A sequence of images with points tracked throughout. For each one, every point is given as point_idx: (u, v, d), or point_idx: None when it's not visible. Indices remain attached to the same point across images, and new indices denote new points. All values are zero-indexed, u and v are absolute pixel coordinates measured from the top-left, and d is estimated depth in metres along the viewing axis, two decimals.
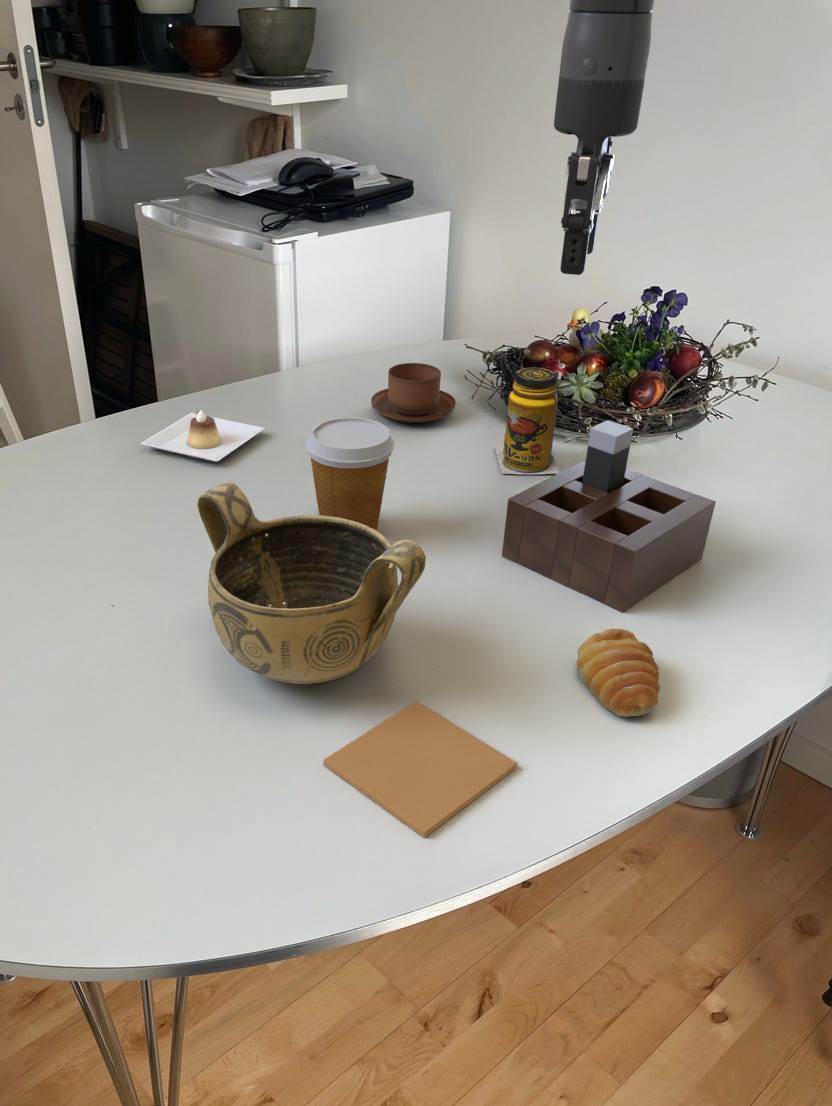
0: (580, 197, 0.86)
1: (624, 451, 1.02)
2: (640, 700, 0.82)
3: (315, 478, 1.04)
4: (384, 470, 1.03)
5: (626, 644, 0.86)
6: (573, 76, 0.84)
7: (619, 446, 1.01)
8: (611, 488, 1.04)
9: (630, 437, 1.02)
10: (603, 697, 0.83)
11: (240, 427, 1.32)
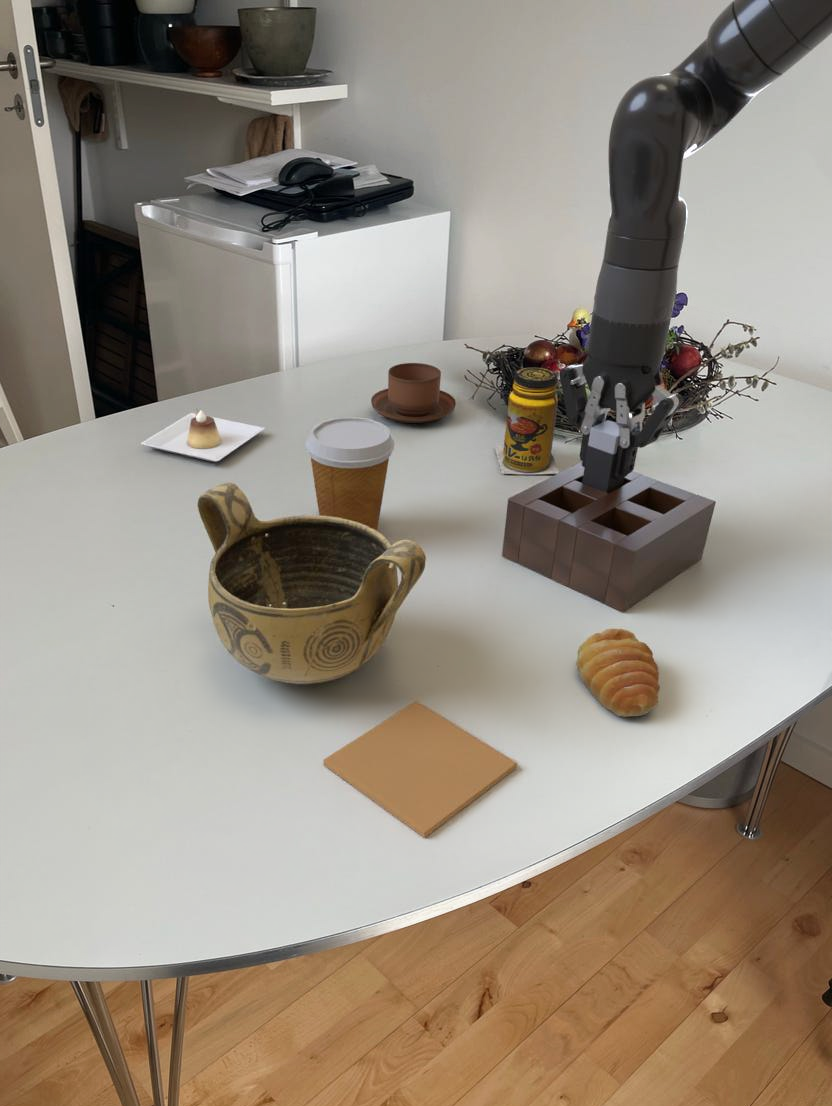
0: (662, 426, 0.98)
1: None
2: (640, 700, 0.82)
3: (315, 478, 1.04)
4: (384, 470, 1.03)
5: (626, 644, 0.86)
6: (647, 322, 0.92)
7: None
8: (611, 488, 1.04)
9: None
10: (603, 697, 0.83)
11: (240, 427, 1.32)
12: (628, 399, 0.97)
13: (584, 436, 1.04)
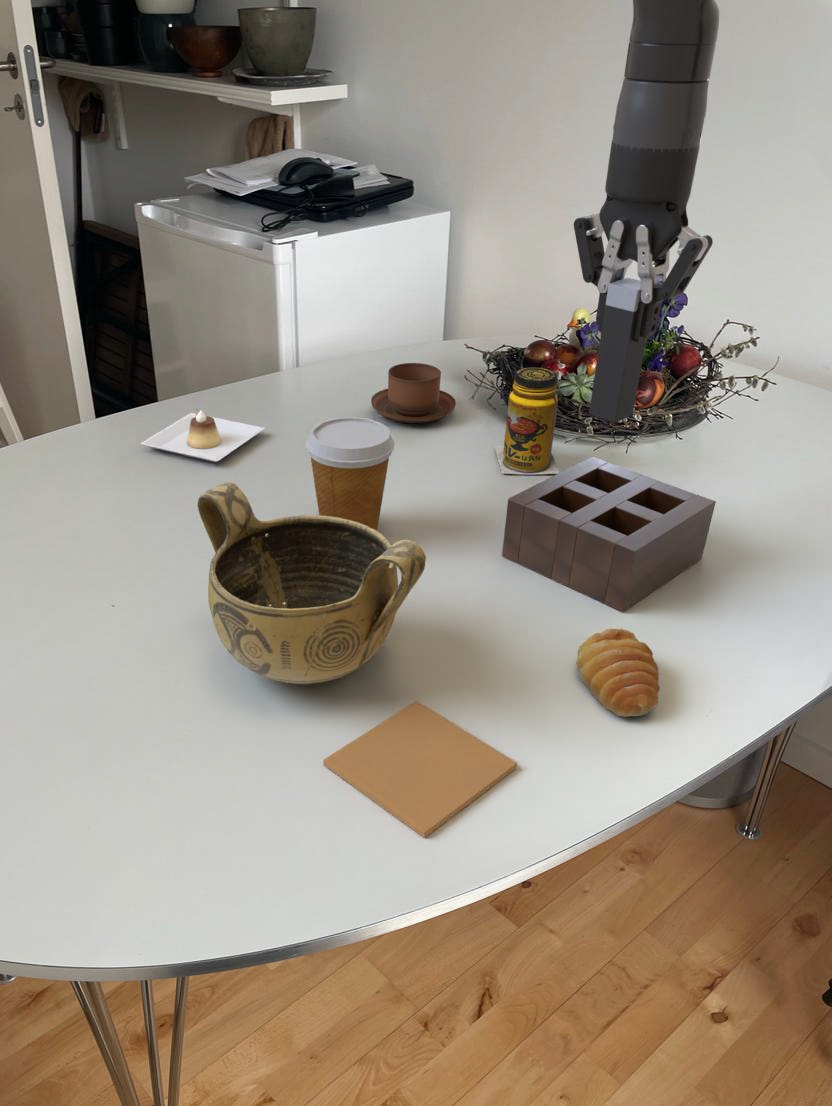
0: (688, 275, 0.87)
1: None
2: (640, 700, 0.82)
3: (315, 478, 1.04)
4: (384, 470, 1.03)
5: (626, 644, 0.86)
6: (673, 146, 0.82)
7: None
8: (631, 353, 0.94)
9: None
10: (603, 697, 0.83)
11: (240, 427, 1.32)
12: (651, 244, 0.87)
13: (601, 296, 0.94)
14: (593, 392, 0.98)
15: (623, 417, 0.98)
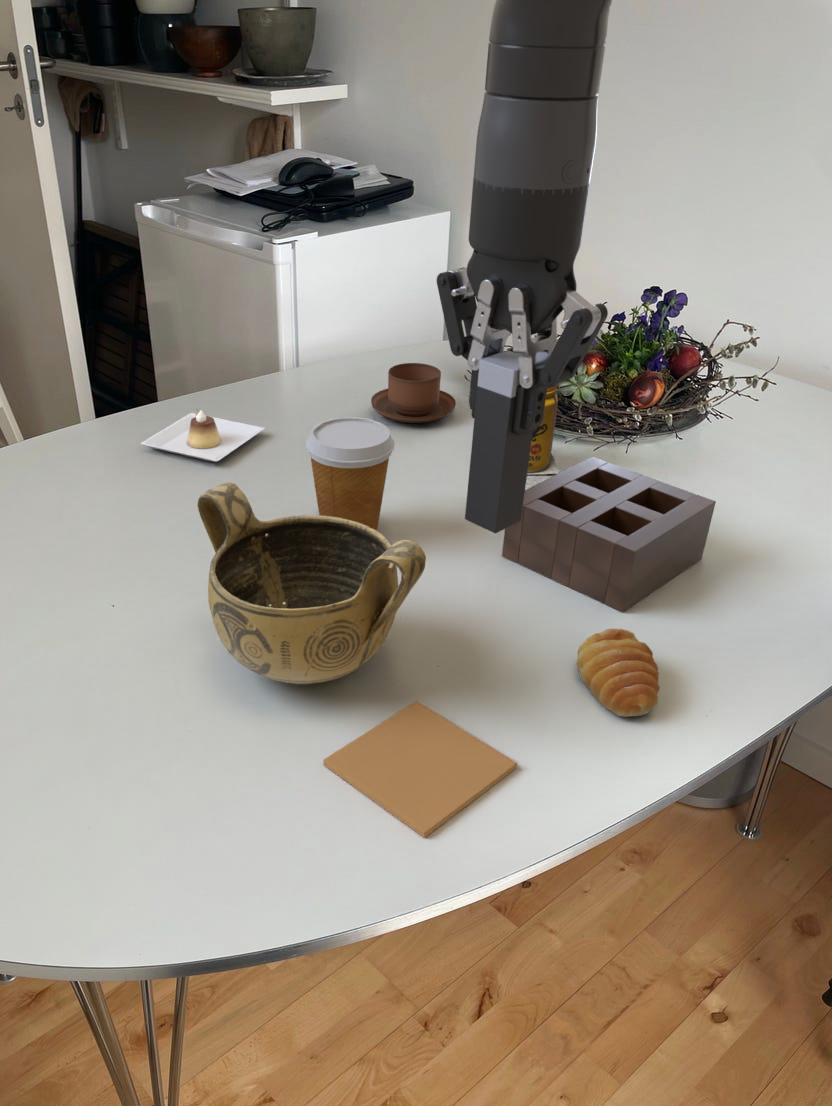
0: (578, 354, 0.66)
1: None
2: (639, 700, 0.82)
3: (315, 478, 1.04)
4: (384, 470, 1.03)
5: (626, 644, 0.86)
6: (548, 186, 0.60)
7: None
8: (512, 449, 0.72)
9: None
10: (603, 697, 0.83)
11: (240, 427, 1.32)
12: (528, 313, 0.65)
13: (474, 373, 0.72)
14: (468, 493, 0.76)
15: (507, 525, 0.76)
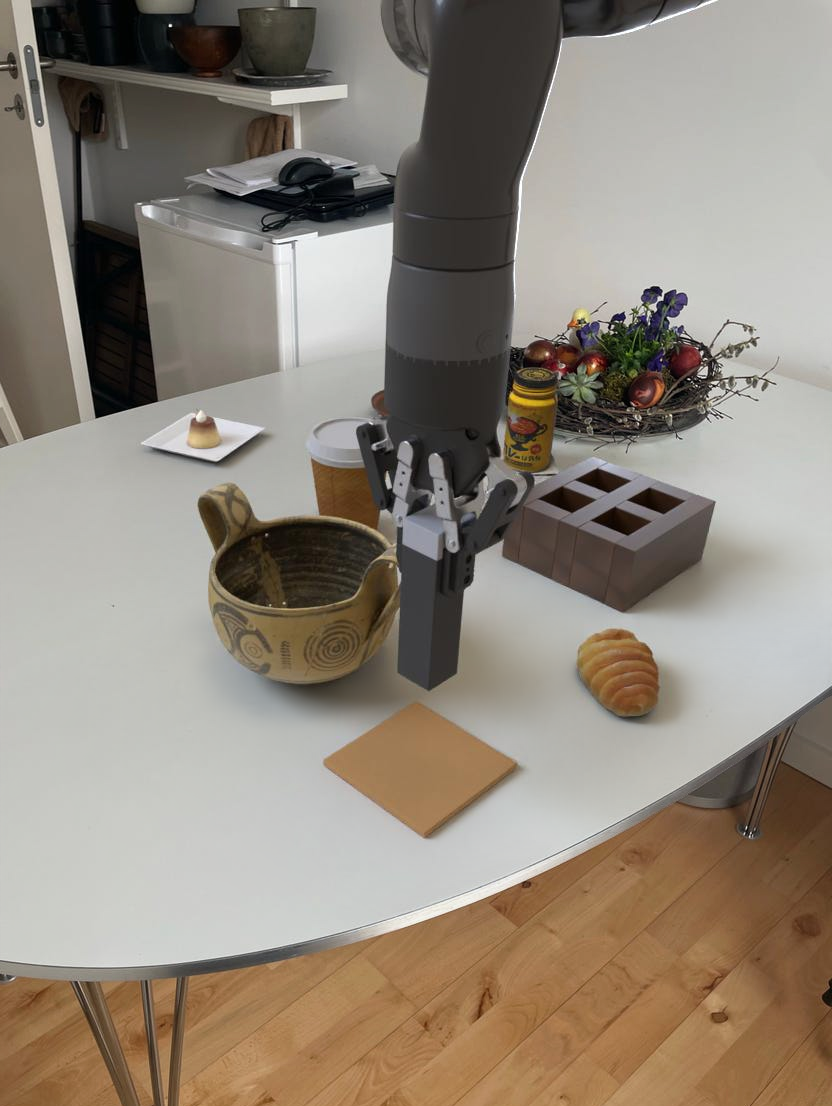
0: (505, 522, 0.61)
1: None
2: (639, 700, 0.82)
3: (315, 478, 1.04)
4: None
5: (626, 644, 0.86)
6: (463, 358, 0.55)
7: None
8: (442, 608, 0.67)
9: None
10: (603, 697, 0.83)
11: (240, 427, 1.32)
12: (450, 478, 0.61)
13: (399, 528, 0.67)
14: (399, 648, 0.71)
15: (441, 681, 0.71)
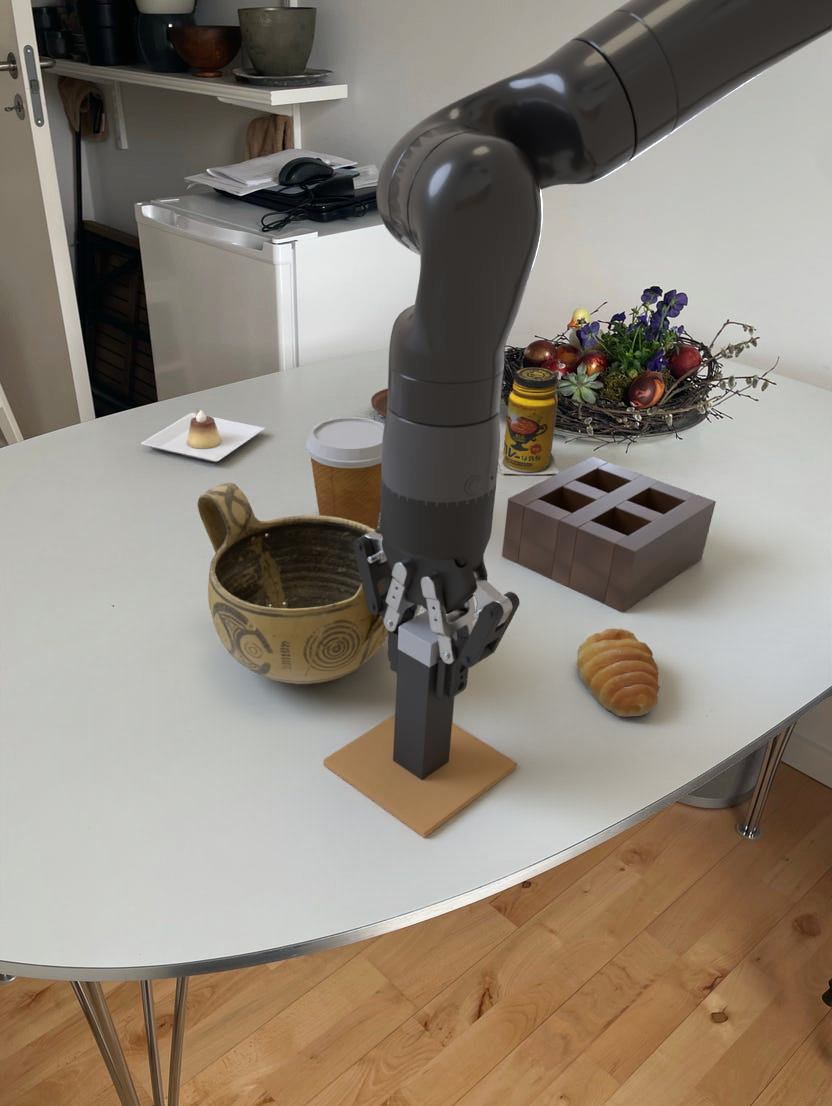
0: (494, 638, 0.66)
1: None
2: (639, 700, 0.82)
3: (315, 478, 1.04)
4: None
5: (626, 644, 0.86)
6: (452, 499, 0.60)
7: (439, 655, 0.69)
8: (435, 707, 0.72)
9: None
10: (603, 697, 0.83)
11: (240, 427, 1.32)
12: (441, 599, 0.66)
13: (390, 631, 0.72)
14: (395, 739, 0.76)
15: (434, 770, 0.76)
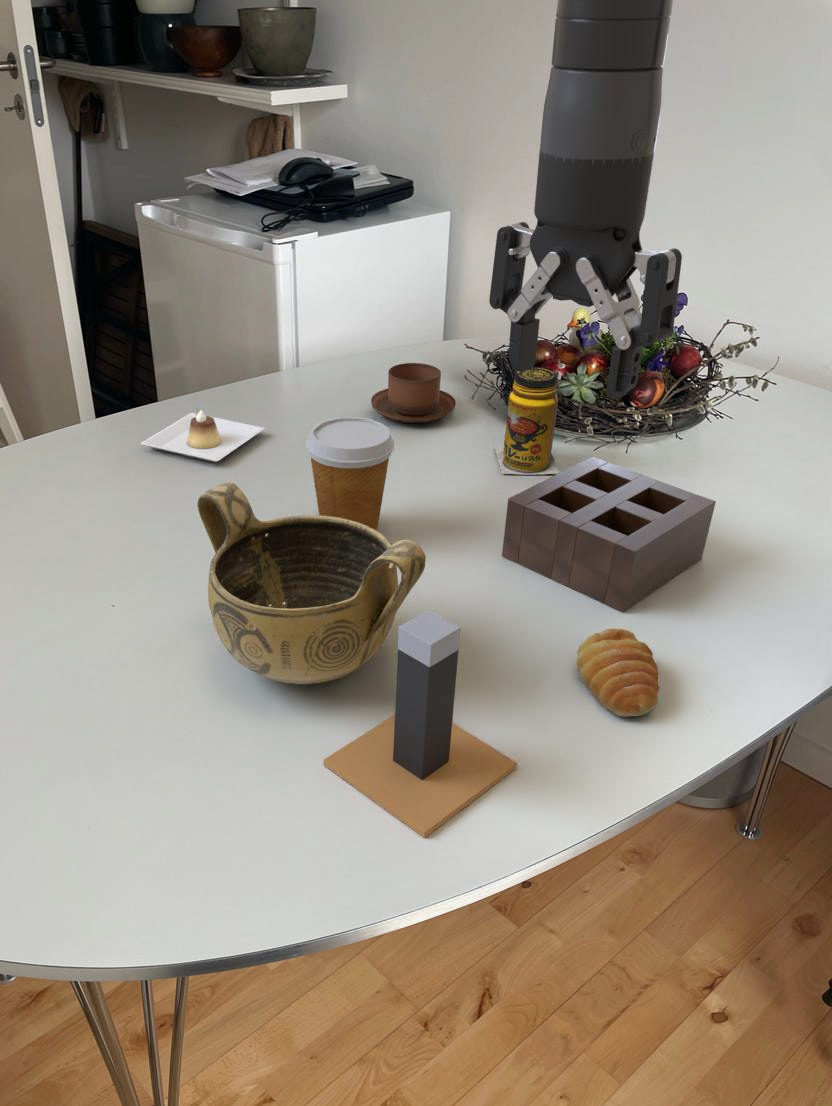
0: (668, 303, 0.66)
1: (449, 658, 0.71)
2: (639, 700, 0.82)
3: (315, 478, 1.04)
4: (384, 470, 1.03)
5: (626, 644, 0.86)
6: (618, 156, 0.62)
7: (439, 655, 0.69)
8: (435, 707, 0.72)
9: (457, 639, 0.70)
10: (603, 697, 0.83)
11: (240, 427, 1.32)
12: (596, 282, 0.67)
13: (513, 326, 0.74)
14: (395, 739, 0.76)
15: (434, 770, 0.76)
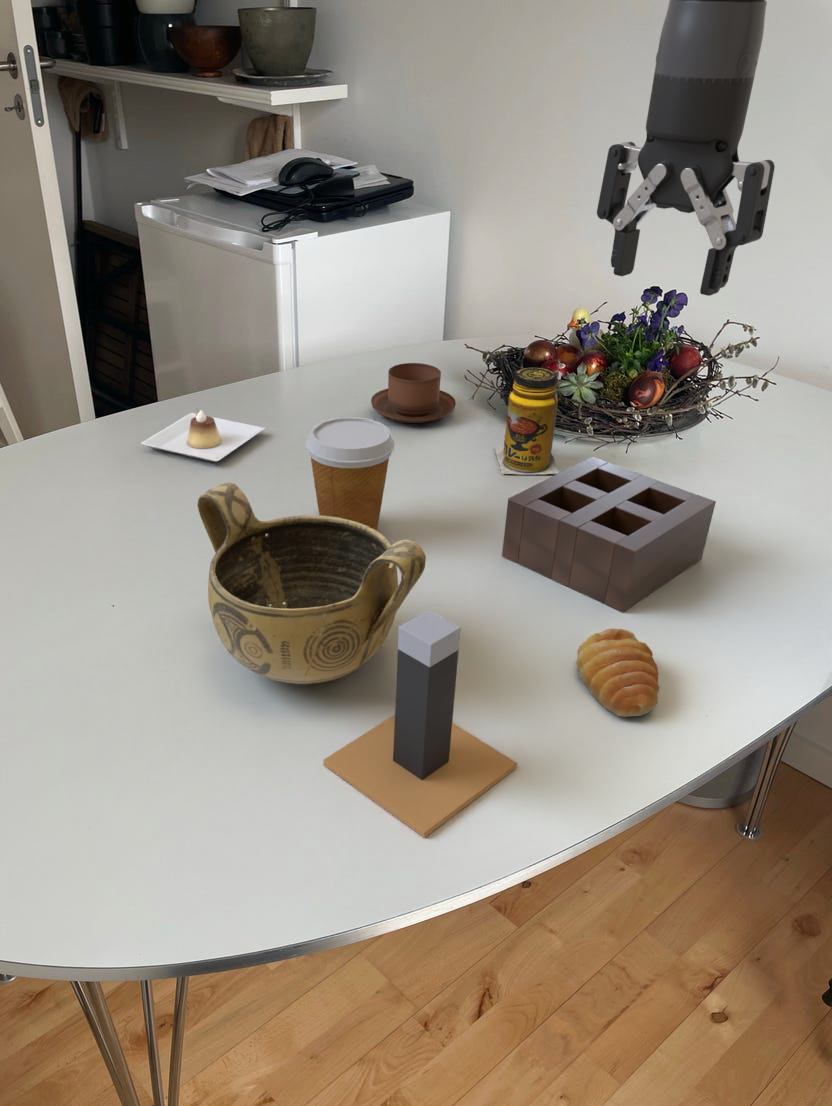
0: (761, 207, 0.77)
1: (449, 658, 0.71)
2: (639, 700, 0.82)
3: (315, 478, 1.04)
4: (384, 470, 1.03)
5: (626, 644, 0.86)
6: (726, 75, 0.72)
7: (439, 655, 0.69)
8: (435, 707, 0.72)
9: (457, 639, 0.70)
10: (603, 697, 0.83)
11: (240, 427, 1.32)
12: (697, 190, 0.78)
13: (617, 234, 0.85)
14: (395, 739, 0.76)
15: (434, 770, 0.76)
